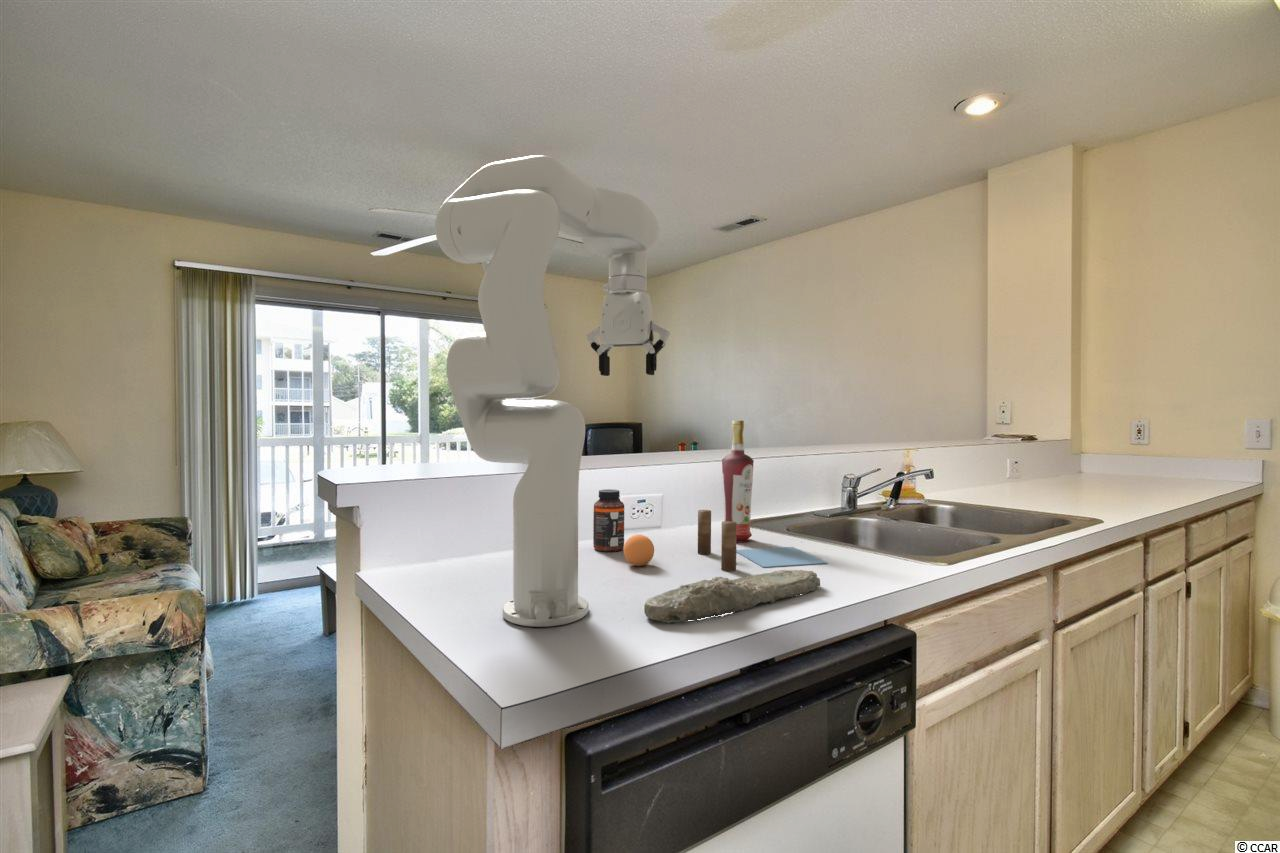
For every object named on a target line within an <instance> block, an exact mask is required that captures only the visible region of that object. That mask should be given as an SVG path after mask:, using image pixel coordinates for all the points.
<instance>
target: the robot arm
mask: <svg viewBox="0 0 1280 853" xmlns="http://www.w3.org/2000/svg"><path fill="white" fill-rule="evenodd" d="M434 230H435V232H434V233H435V237H436V241H437V243H438V246H439V247H440V249H441V251H442V252H443V253H444V254H445V256H447V257H448V258H449V259H451V260H452V261H455V262H457V263H461V264H467V265H468V264H469V265H471V264H481V263H488V262H489V264H488V267H487V269H486V271H485V272H484V275H483V278H482V279H481V282H480V285H479V289H478V294H477V297H478V298H477V303H478V304H477V306H478V309H479V314H480V317H481V322H482V325H483V329H484V331H481V332H470V333H466V334H464V335H460V336H459V337H458V338H457V339H456V340H455V341H453V343H452V344H451V346H450V348H449V350H448V353H447V357H446V366H445V369H446V378H447V382H448V385H449V389H450V392H451V396H452V398H453V401H454V404H455V407H456V410H457V412H458V415H459V418H460V421H461V424H462V427H463V429H464V432H465V434H466V437H467V440H468V443H469V445H470V447H471V448H472V451H473V452H474V453H475V454H476V455H477V456H478V458H480V459H481V460H484V461H486V462H490V463H499V464H500V463H502V464H522V465H527V469H526V470H525V471H524V473H523V475H522V476H521V478H520V479H519V481H518V483H517V485H516V487H515V489H514V492H513V498H512V499H513V501H512V504H513V505H512V506H513V507H512V509H513V519H512V520H513V522H512V523H513V527H512V532H513V538H512V539H513V540H512V543H513V546H512V550H513V552H512V554H513V555H512V556H513V559H512V560H513V561H512V562H513V563H512V564H513V565H512V566H513V568H512V571H513V572H512V573H513V574H512V579H513V580H512V583H513V585H512V587H513V591H512V592H513V593H512V595H513V596H512V597H513V598H512V599H510V600H508V601H507V602H505V603H504V604H503V606H502V617H503V618H504V619H505V620H506V621H508V622H509V623H511V624H515V625H519V626H523V627H535V628H537V627H538V628H541V627H542V628H543V627H548V628H549V627H556V626H563V625H568V624H572V623H574V622H577V621H578V620H581V619H583V618H584V617H585V616H586V615H588V612H589V602H588V601H587V599H585V598H584V597H582V596H580V595H579V485H580V484H579V483H580V482H579V481H580V470H581V460H582V455H583V451H584V450H583V449H584V445H585V439H586V438H585V437H586V422H585V419H584V416H583V414H582V412H581V410H580V409H578V407H576V406H575V405H573V403H572V404H571V403H569V402H566V401H562V400H558V399H557V400H556V399H538V398H542V397H546V396H548V395H550V394H551V393H553V392H554V391H555V390H556V388H557V387H558V385H559V382H560V375H561V374H560V366H559V360H558V356H557V350H556V346H555V343H554V338H553V334H552V330H551V327H550V322H549V319H548V318H549V317H548V314H547V310H546V305H545V299H544V282H545V276H546V273H547V272H546V271H547V268H548V265H549V263H550V259H551V256H552V254H553V250H554V249H555V246H556V244H557V242H558V238H559V234H560V231H561V232H562V233H565V234H566V235H568V236H571V237H575V238H581V241H582V243H583V245H584V247H585V248H586V249H587V250H588V252H590V253H591V254H593V255H596V256H600V257H605V258H608V279H607V283H606V284H603V285H602V290H603V292H607V294H604V298H603V302H602V308H601V316H600V323H599V324H600V325H599V326H598V327H596V328H595V329H594V330H592V331H590V332H589V333H587V334H586V338H587V340H588V343H589V344H590V347H591V348H592V349H593V351H595V353H596V354H597V355H598V371H599V374H600V375H601V376H605V377H609V376H610V374H611V370H610V369H611V368H610V367H611V366H610V365H611V364H610V363H611V362H610V360H611V359H610V358H611V357H610V355H609V356H608V354H609V353H610V352H611V350H612V349H613V347H617V348H618V347H644V348H645V350H647V353H646V354H645V374H646V375H648V376H655V372H656V371H657V369H658V368H657V356H658V355H659V354H660V351H661V350H663V348H664V347H665V346H666V342H667V341H668V340H669V337H670V335H671V332H670V330H667V329H665V328H663V327H661V326H660V325H657V324H655V323H654V314H653V308H652V301H651V298H650V294H649V293H647V290H648V289H647V286H648V285H647V284H648V283H647V280H648V277H647V274H648V273H647V272H648V269H647V267H648V266H647V264H648V254H647V253H648V251H649V250H652V249H653V248H654V247H655V245H656V244H657V241H658V239H659V234H660V233H659V231H660V229H659V223H658V219H657V216H656V215H655V213H654V212H653V210H652V209H651V207H649V206H648V205H647V203H645V201H643V200H642V199H641V198H639V197H637V196H635V195H633V194H632V195H631V194H629V193H625V192H621V191H616V190H612V189H608V188H604V187H599V186H595V185H591V184H589V183H588V182H587V181H585V180H584V179H582V177H580V176H579V175H577V173H575V171H573V170H572V169H570V168H569V167H568V166H566V165H565V164H564V163H563V162H561V161H560V160H559V159H557V158H555V157H553V156H549V155H545V154H544V155H542V154H537V155H528V156H523V157H521V156H520V157H516V158H511V159H510V158H509V159H505V160H499V161H494V162H490V163H487V164H486V165H484V166H482V167H481V168H480V169H478V170H477V171H476V172H474V173H473V174H472V175H470V176H469V177H468V178H467V179H466V180H465V181H464V182H463V183H462V184H461V185H459V187H458V188H457V189H455V191H454V192H453V193H451V194H450V196H448V197H447V198H446V199H445V200H444V202H443V203H442V204H441V205H440V207H439V209H438V211H437V213H436V217H435V223H434ZM655 332H656V333H658V335H659V338H658V340H657V341H656V342H655V343H653V342H654V336H655ZM598 337H599V341H600V343H601V344H600V343H598V341H597V338H598ZM536 398H537V399H536Z"/></svg>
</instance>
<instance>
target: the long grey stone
mask: <svg viewBox="0 0 1280 853" xmlns="http://www.w3.org/2000/svg"><path fill="white" fill-rule="evenodd" d="M817 576H818V575H817V573H816V572H814V571H813V570H802V569H800V570H799V569H798V570H797V569H793V570H792V569H791V570H788V569H781V570H774V571H772V572H767V573H765V572H763V573H760V574H758V573H757V574H753V575H747V576H745V577H739V578H734V579H729V578H728V577H723V576H714V577H711V580H708V579H703V580H699V581H696V582H693V583H689V584H681V585H679V587H678V588H676V589H671V590H668V591H665V592H663V593H660V594H658V595H655V596H653V597H649V598H648V599H646V600H645V604H644V608H643V609H644V611H643V612H644V615H645V616H646V617H647V618H648V619H650V620H654V621H658V622H664V623H665V622H667V623H666V624H671V623H670V622H674V623H680V622H679V621H688V620H697V619H701V618H705V617H711V616H714V615H715V616H718V615H722V614H725V613H731V612H734V611H737V612H740V611H739V610H743V609H745V610H748V608H750V609H752V608H754V607H756V606H757V605H758V604H760V603H763V604H766V603H768V602H769V603H770V602H773V603H775V602H776V601H779V600H782V598H783V599H788V598H789V597H791V598H793V597H792V596H795V597H797V596H796V595H800V594H804V593H806V594H808V593H810V591H811V592H814V591H815V590H816V589H817V588H818V587H821V579H820V578H819V577H817ZM814 589H815V590H814ZM804 595H805V594H804ZM800 596H801V595H800ZM787 597H788V598H787ZM778 599H779V600H778ZM775 600H776V601H775ZM743 611H744V610H743ZM734 613H735V612H734Z"/></svg>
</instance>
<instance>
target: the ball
mask: <svg viewBox="0 0 1280 853" xmlns="http://www.w3.org/2000/svg"><path fill="white" fill-rule="evenodd" d="M623 555H624V558H625V560H626V561H627V563H628V564H631V565H632V566H636V567H641V566H645V565H647V564H649V563H650V562H651V561H652V559H653V558H654V555H655V546H654V543H653V541H652V540H651V539H650V538H649V537H648V536H646V535H644V534H634V535H632V536H629V538H628V539H627V540H626V541H625V542H624V548H623Z"/></svg>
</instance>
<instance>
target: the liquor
mask: <svg viewBox="0 0 1280 853" xmlns="http://www.w3.org/2000/svg"><path fill="white" fill-rule="evenodd" d="M731 424H732V427H731V428H732V433H733V436H732V443H731V444H732V445H731V453H729V454H727V455H726V456H724V457H723V458H722V459H721V466H722V468H721V471H722V491H723V492H722V493H723V494H722V495H723V496H722V497H723V521H733V522H736V523H737V532H736V543H745V542H747V541H748V540H749V539H750V538H751V537H752V536H753V535H752V532H751V512H752V510H751V509H752V494H753V483H754V482H753V481H754V480H753V479H754V459H753V458H752V457H751V456H750V455H747V454H745V448H744V429H745V420H732V422H731Z"/></svg>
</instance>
